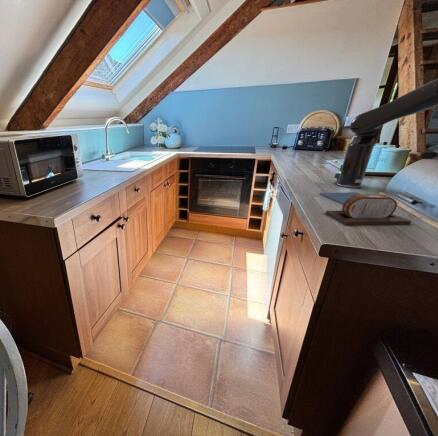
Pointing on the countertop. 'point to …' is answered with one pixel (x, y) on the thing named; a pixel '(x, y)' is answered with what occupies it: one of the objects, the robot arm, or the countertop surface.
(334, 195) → the mat
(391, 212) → the tin
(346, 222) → the stand
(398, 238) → the countertop surface
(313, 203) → the countertop surface
